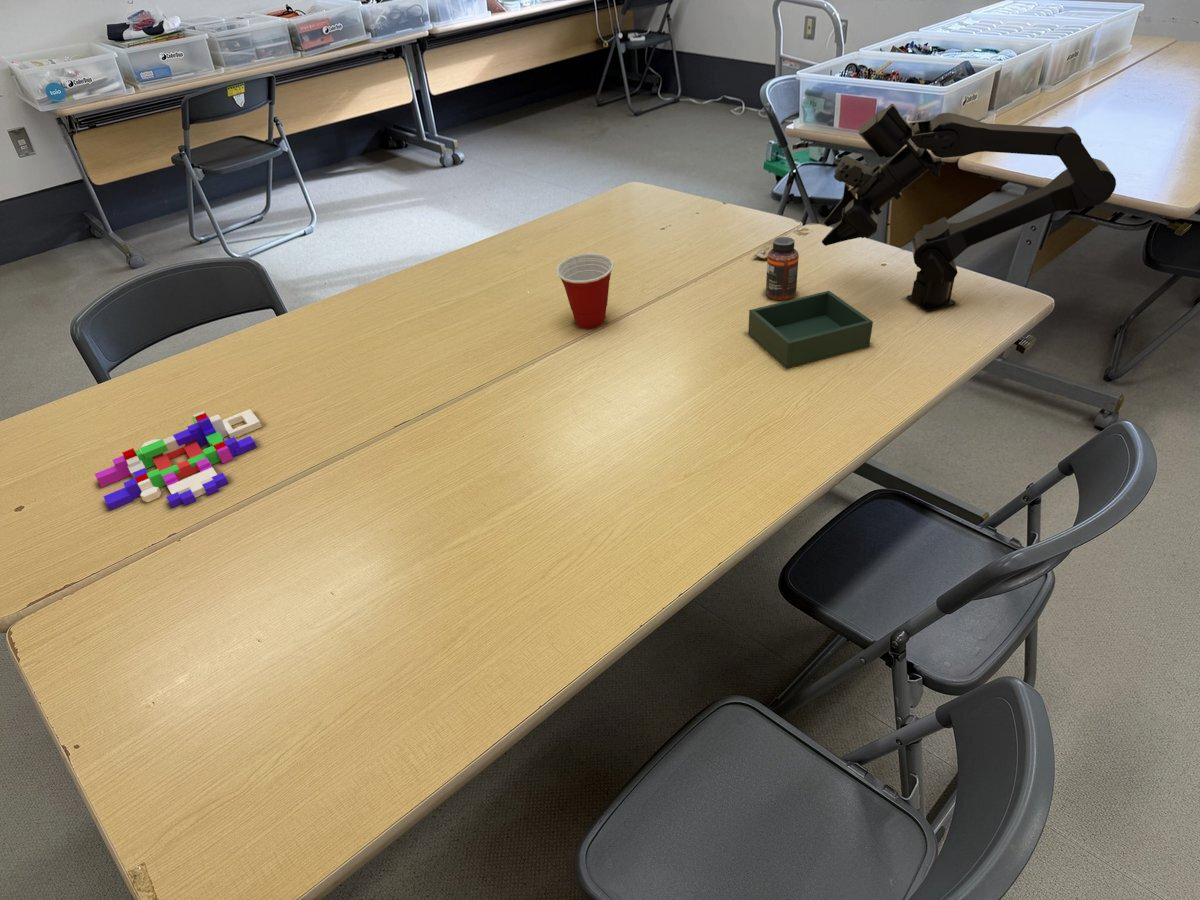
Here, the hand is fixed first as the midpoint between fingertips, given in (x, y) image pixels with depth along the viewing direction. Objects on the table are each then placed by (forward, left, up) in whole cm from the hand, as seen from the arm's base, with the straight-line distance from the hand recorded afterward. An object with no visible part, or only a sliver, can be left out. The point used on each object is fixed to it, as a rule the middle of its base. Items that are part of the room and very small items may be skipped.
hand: (824, 233), depth 147 cm
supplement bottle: (+6, -4, -13) cm, 15 cm away
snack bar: (-2, -23, -13) cm, 27 cm away
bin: (+11, +14, -13) cm, 22 cm away
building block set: (+117, +4, -13) cm, 118 cm away
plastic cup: (+44, -11, -13) cm, 47 cm away
